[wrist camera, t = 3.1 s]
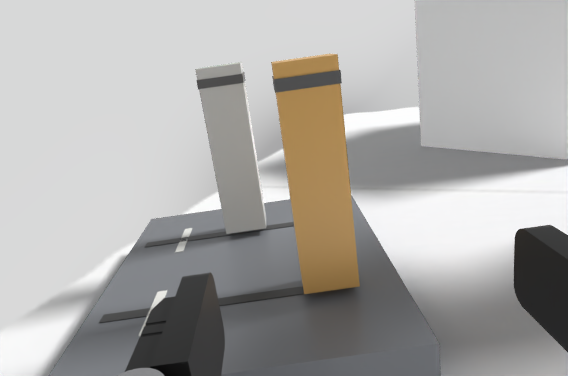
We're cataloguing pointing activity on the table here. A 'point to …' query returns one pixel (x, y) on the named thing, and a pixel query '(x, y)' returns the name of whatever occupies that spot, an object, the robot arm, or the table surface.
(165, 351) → the robot arm
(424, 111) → the cube
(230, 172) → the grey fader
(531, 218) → the table surface
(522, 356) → the table surface
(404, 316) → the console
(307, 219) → the amber fader
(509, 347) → the table surface
